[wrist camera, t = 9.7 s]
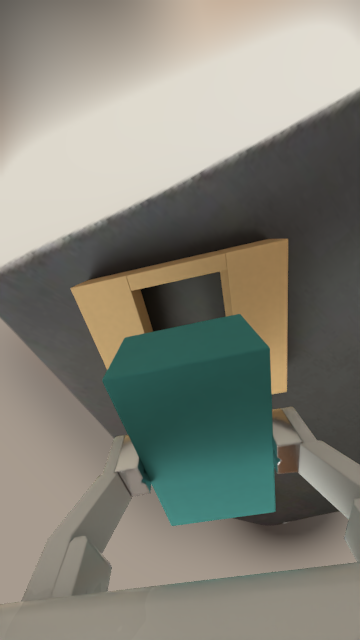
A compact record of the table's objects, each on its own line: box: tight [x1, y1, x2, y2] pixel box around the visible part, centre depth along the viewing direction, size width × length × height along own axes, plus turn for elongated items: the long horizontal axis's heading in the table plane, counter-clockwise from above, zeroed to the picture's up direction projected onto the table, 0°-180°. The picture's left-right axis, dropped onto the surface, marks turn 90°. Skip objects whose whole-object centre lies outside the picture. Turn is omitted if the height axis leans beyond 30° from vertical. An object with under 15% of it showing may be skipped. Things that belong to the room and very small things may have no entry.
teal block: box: [103, 314, 276, 526], centre depth 9 cm, size 6×10×3 cm, turn 12°
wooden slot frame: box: [71, 239, 288, 394], centre depth 18 cm, size 16×14×3 cm
